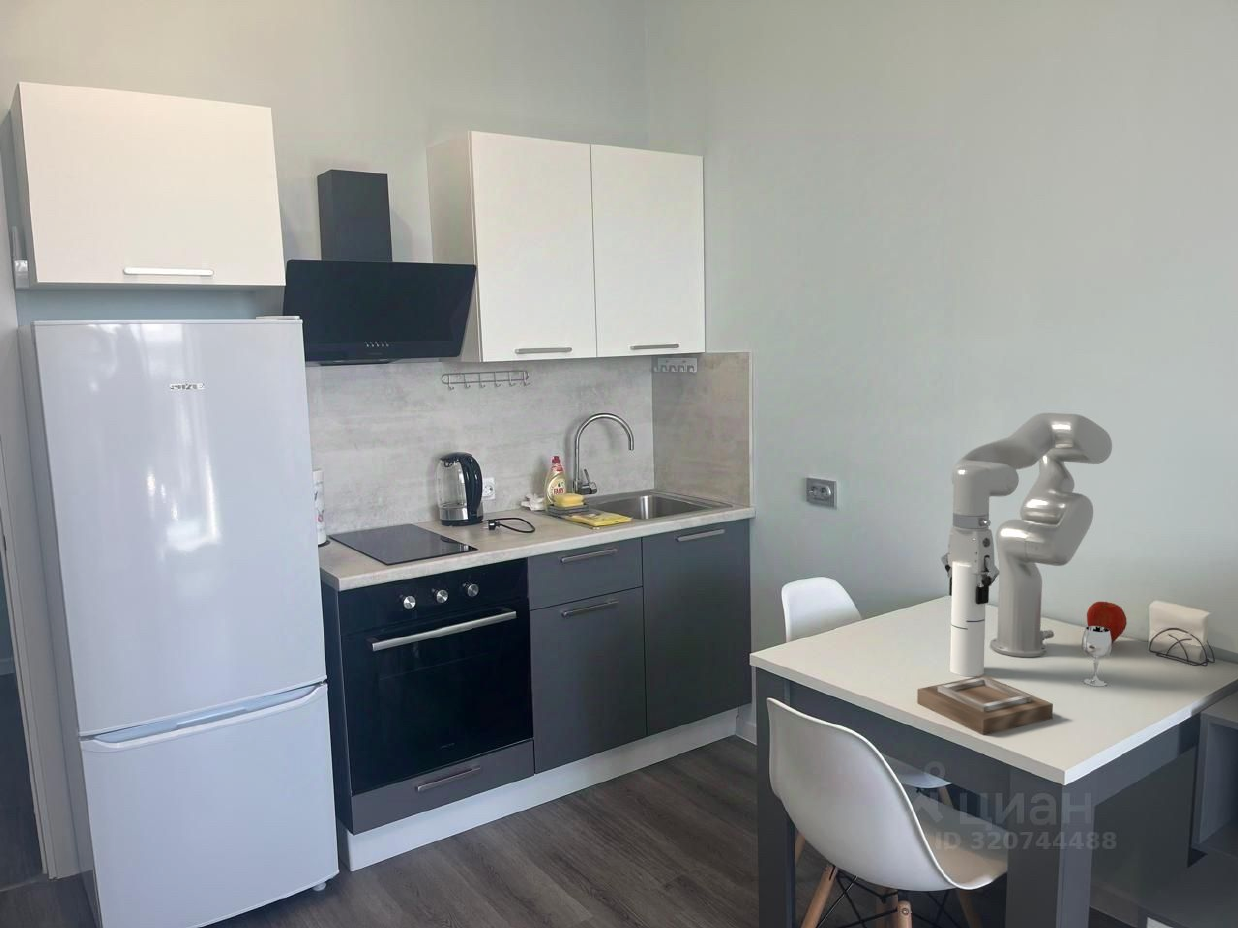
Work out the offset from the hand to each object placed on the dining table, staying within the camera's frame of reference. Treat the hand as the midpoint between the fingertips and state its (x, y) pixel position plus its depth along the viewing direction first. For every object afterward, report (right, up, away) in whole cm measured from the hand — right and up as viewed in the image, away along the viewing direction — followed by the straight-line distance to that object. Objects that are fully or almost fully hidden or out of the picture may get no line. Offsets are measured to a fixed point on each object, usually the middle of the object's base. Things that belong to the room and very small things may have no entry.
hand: (968, 598), depth 210 cm
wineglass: (+25, -17, -7) cm, 31 cm away
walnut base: (-5, -20, -21) cm, 29 cm away
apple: (+40, -14, +18) cm, 46 cm away
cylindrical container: (0, -17, +2) cm, 17 cm away
